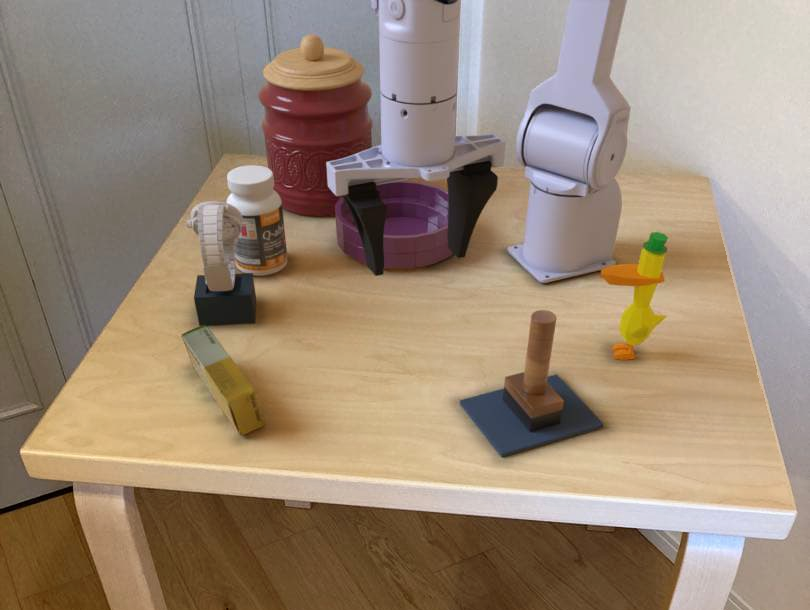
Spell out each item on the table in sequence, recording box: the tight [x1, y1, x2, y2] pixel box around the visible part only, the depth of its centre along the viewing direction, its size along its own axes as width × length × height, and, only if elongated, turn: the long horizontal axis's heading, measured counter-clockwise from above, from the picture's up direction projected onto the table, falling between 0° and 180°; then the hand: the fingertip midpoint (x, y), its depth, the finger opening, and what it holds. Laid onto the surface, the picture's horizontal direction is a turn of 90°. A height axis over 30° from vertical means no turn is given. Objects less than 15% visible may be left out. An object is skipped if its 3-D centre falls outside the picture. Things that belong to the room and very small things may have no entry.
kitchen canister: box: [257, 33, 374, 217], centre depth 98 cm, size 13×13×18 cm
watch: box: [186, 200, 257, 327], centre depth 81 cm, size 6×8×11 cm
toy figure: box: [600, 231, 669, 361], centre depth 76 cm, size 7×4×12 cm, turn 87°
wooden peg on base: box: [503, 309, 564, 432], centre depth 70 cm, size 3×5×10 cm, turn 23°
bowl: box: [334, 179, 454, 270], centre depth 94 cm, size 14×14×4 cm
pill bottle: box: [225, 164, 288, 277], centre depth 88 cm, size 6×6×10 cm
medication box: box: [180, 325, 266, 437], centre depth 74 cm, size 12×3×4 cm, turn 30°
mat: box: [459, 373, 605, 458], centre depth 74 cm, size 10×8×1 cm
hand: (416, 261), depth 72 cm, fingers open, 7 cm apart
